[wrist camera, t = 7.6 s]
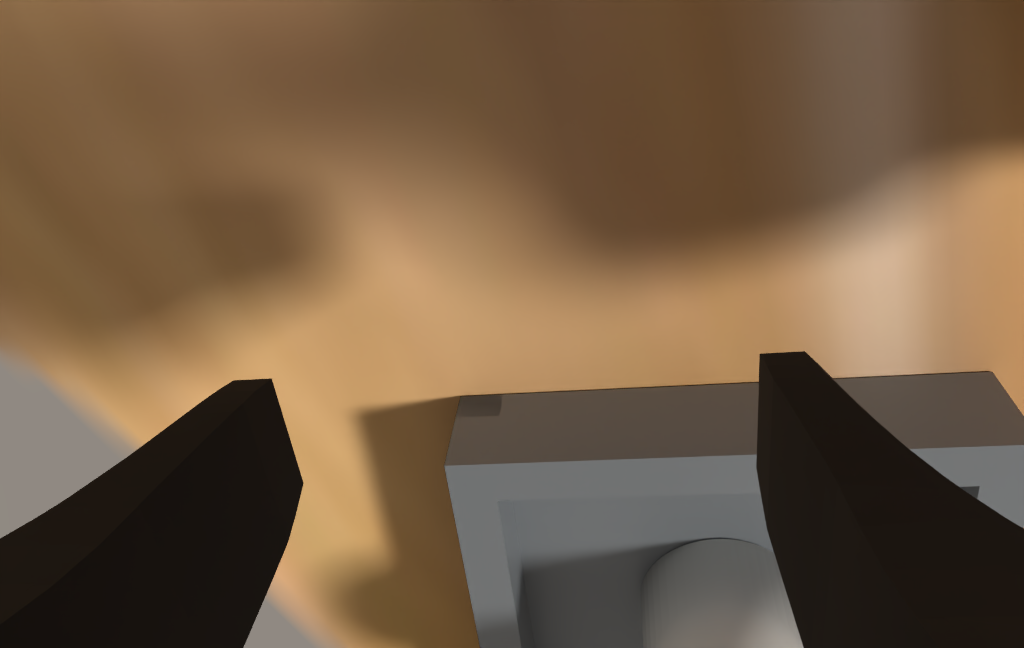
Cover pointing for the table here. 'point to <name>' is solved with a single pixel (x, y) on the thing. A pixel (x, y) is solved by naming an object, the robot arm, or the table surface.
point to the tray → (663, 488)
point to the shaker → (717, 599)
